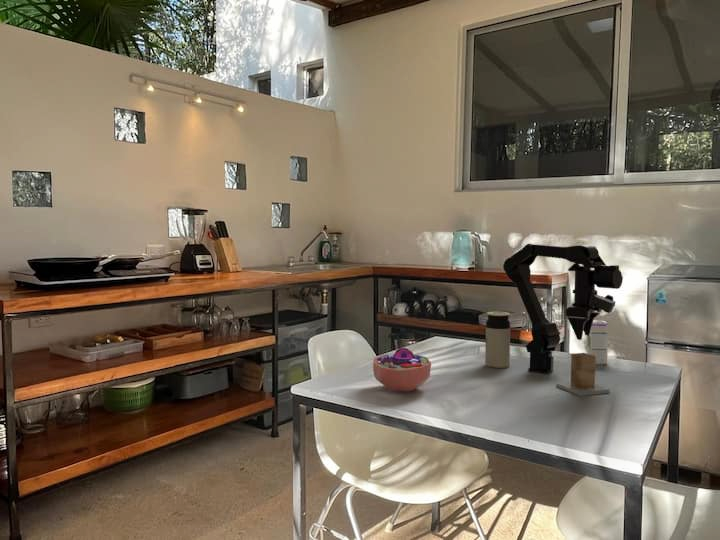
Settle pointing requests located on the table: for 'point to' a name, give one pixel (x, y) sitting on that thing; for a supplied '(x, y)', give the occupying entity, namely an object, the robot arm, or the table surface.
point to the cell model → (402, 370)
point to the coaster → (582, 392)
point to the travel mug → (497, 340)
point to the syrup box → (598, 341)
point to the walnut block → (583, 370)
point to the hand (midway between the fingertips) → (583, 337)
